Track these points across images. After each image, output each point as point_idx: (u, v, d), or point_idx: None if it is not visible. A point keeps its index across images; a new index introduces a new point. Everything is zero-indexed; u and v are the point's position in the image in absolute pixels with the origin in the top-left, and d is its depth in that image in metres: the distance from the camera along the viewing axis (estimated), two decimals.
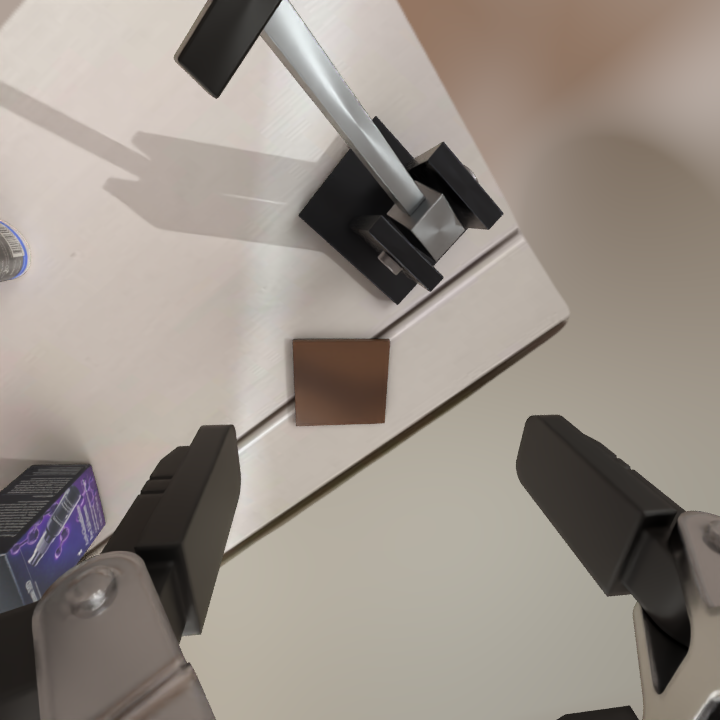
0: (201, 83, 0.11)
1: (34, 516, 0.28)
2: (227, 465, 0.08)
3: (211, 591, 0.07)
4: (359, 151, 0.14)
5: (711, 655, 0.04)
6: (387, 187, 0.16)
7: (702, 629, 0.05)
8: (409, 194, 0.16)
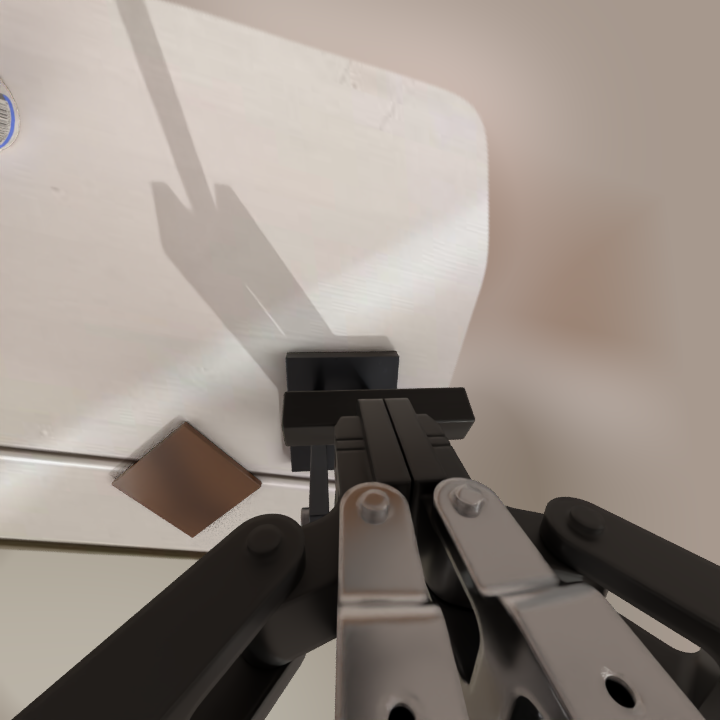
0: (284, 438, 0.11)
1: None
2: None
3: None
4: None
5: (502, 649, 0.04)
6: None
7: (486, 619, 0.05)
8: None
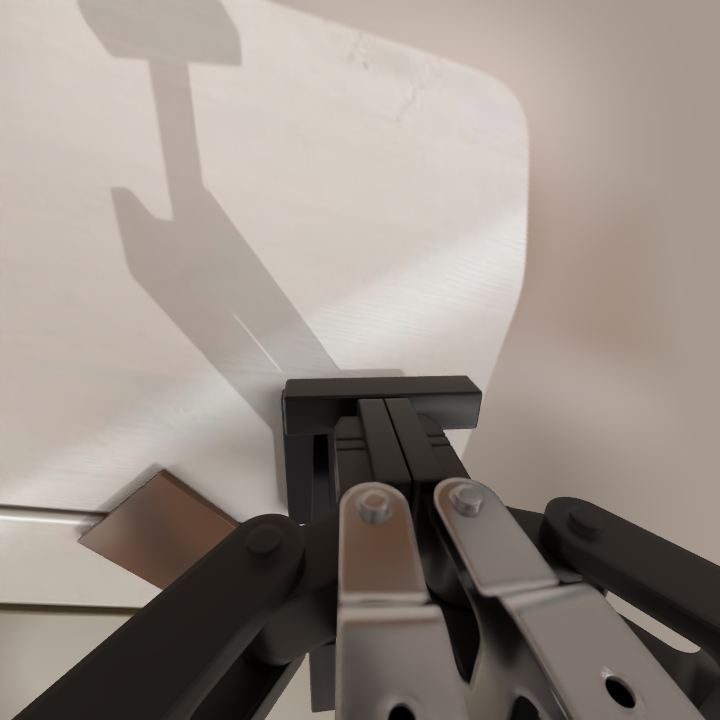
0: (285, 420, 0.10)
1: None
2: None
3: None
4: None
5: (502, 649, 0.04)
6: None
7: (486, 619, 0.05)
8: None
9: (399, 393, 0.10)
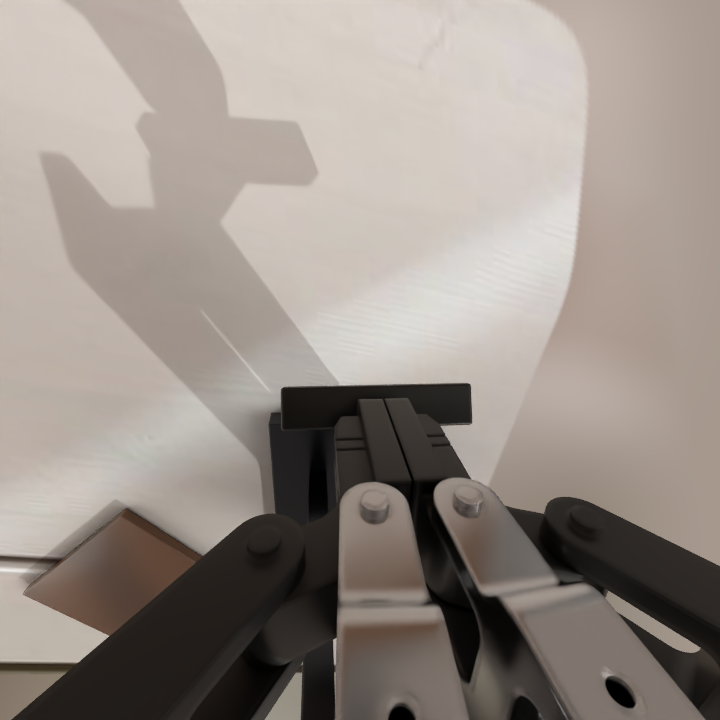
0: (282, 412, 0.11)
1: None
2: None
3: None
4: None
5: (502, 649, 0.04)
6: None
7: (486, 619, 0.05)
8: None
9: (391, 385, 0.11)
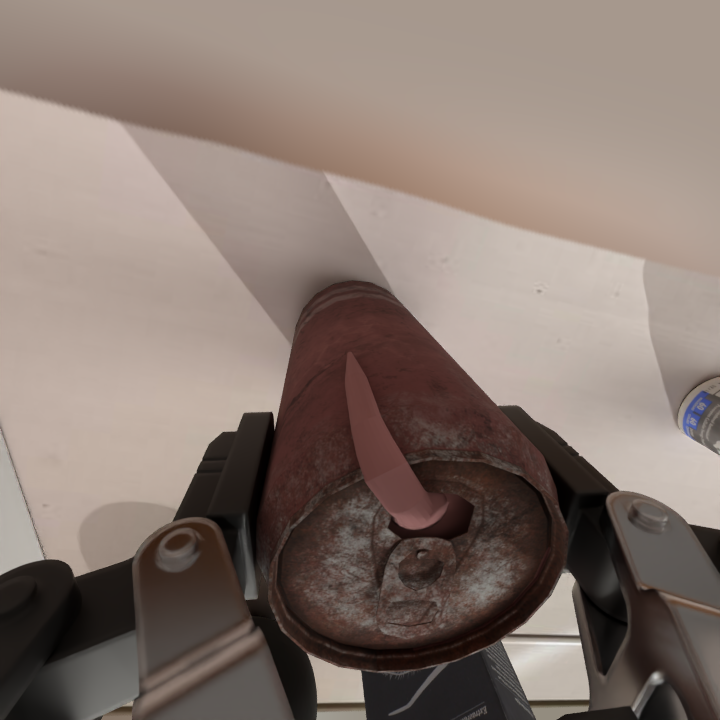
0: None
1: (515, 675, 0.21)
2: (269, 449, 0.09)
3: None
4: None
5: (648, 638, 0.04)
6: None
7: (638, 611, 0.05)
8: None
9: None
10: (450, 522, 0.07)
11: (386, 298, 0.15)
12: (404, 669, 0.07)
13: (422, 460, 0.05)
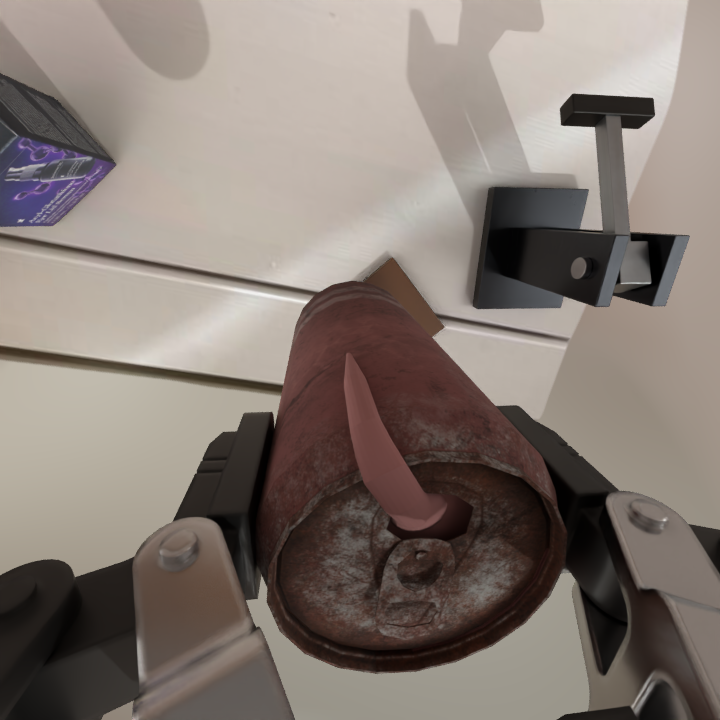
0: (573, 104, 0.23)
1: (54, 140, 0.22)
2: (269, 449, 0.09)
3: None
4: (611, 185, 0.23)
5: (648, 638, 0.04)
6: (613, 216, 0.23)
7: (638, 611, 0.05)
8: (623, 231, 0.23)
9: (618, 96, 0.24)
10: (449, 523, 0.07)
11: (385, 298, 0.15)
12: (403, 670, 0.07)
13: (421, 461, 0.05)
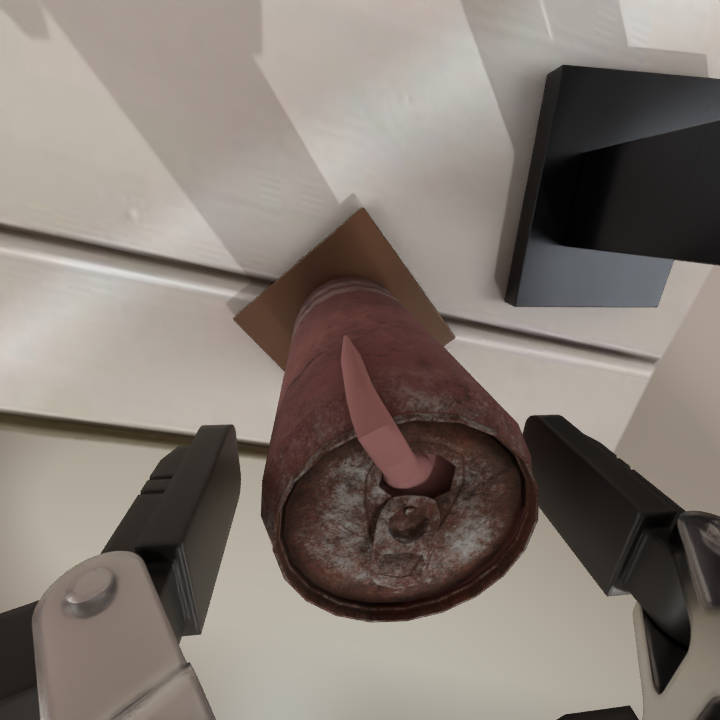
0: None
1: None
2: (227, 465, 0.08)
3: (211, 591, 0.07)
4: None
5: (711, 655, 0.04)
6: None
7: (702, 629, 0.05)
8: None
9: None
10: (435, 484, 0.08)
11: (381, 292, 0.15)
12: (395, 619, 0.08)
13: (407, 420, 0.06)
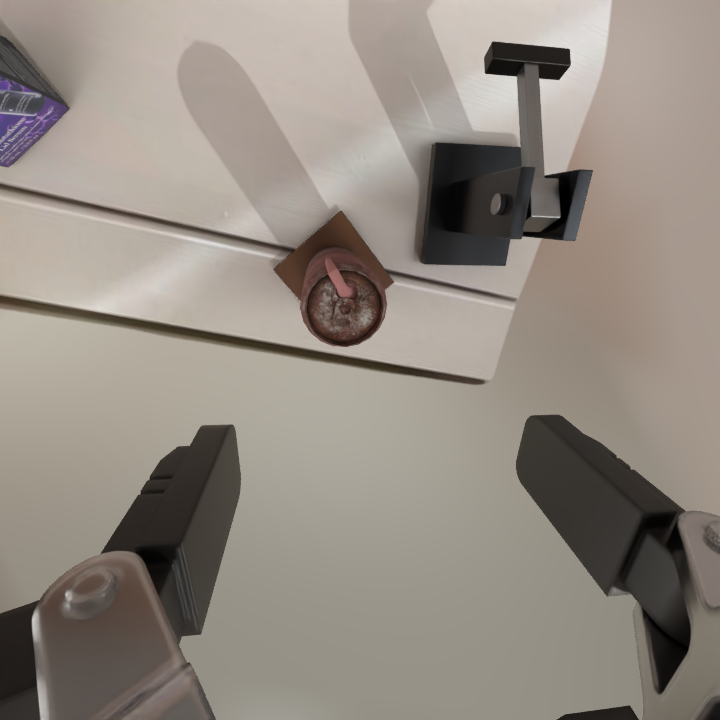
0: (492, 51, 0.25)
1: None
2: (227, 465, 0.08)
3: (211, 591, 0.07)
4: (527, 127, 0.25)
5: (711, 655, 0.04)
6: (528, 156, 0.25)
7: (702, 629, 0.05)
8: (537, 170, 0.25)
9: (536, 46, 0.25)
10: (354, 298, 0.25)
11: (348, 251, 0.32)
12: (342, 345, 0.25)
13: (341, 269, 0.23)
